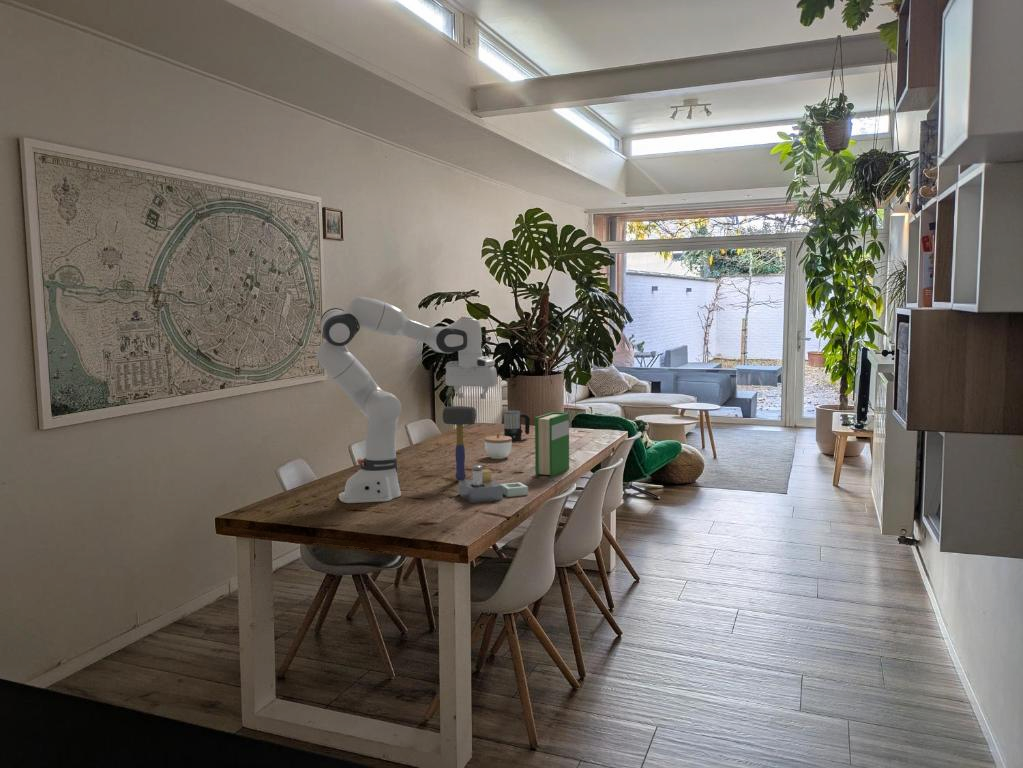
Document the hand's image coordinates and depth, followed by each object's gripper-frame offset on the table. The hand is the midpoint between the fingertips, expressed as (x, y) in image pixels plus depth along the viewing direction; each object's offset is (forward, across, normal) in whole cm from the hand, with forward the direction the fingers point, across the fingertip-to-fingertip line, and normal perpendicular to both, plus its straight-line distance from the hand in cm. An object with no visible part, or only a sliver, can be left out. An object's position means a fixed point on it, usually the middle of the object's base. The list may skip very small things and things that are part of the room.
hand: (471, 398), depth 286 cm
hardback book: (+36, +16, +41) cm, 57 cm away
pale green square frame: (+35, +16, +2) cm, 38 cm away
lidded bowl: (+36, -19, +62) cm, 74 cm away
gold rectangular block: (+32, +6, -2) cm, 33 cm away
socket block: (+35, +6, -7) cm, 36 cm away
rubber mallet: (+35, -13, +13) cm, 40 cm away
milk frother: (+36, -33, +112) cm, 123 cm away
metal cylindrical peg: (+35, +7, -11) cm, 37 cm away
